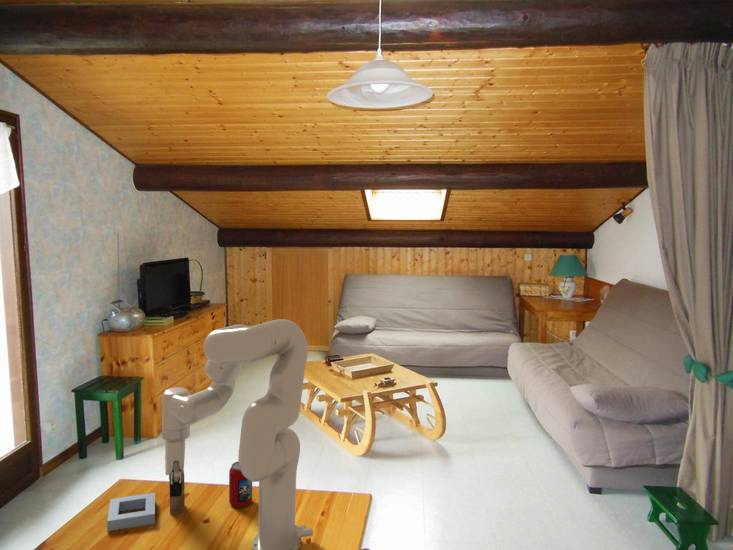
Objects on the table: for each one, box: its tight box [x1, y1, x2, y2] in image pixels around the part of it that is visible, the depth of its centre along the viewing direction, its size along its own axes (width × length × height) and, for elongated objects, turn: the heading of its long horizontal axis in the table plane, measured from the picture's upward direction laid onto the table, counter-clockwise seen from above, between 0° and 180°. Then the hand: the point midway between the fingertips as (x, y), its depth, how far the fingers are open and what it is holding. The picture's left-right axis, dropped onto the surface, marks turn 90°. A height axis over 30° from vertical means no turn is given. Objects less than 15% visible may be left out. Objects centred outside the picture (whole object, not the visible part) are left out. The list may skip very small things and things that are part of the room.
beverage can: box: [228, 460, 253, 508], centre depth 163 cm, size 7×7×12 cm
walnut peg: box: [168, 469, 186, 515], centre depth 159 cm, size 4×4×11 cm
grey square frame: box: [106, 492, 156, 532], centre depth 155 cm, size 12×12×3 cm
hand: (175, 487), depth 159 cm, fingers open, 9 cm apart
